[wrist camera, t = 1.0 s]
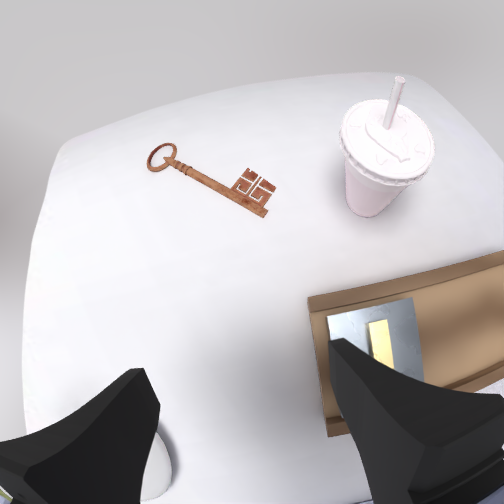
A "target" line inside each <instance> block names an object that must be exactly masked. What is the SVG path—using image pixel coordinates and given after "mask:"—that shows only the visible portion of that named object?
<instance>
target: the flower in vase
mask: <svg viewBox="0 0 504 504" xmlns="http://www.w3.org/2000/svg"><path fill="white" fill-rule="evenodd" d="M171 478H172V467H171V461H170V457H169V454H168V452H167V449H166V447H165V445H164V443H163V441H162V440H161V438H160V436H159V435H158V434H157V432H156V433H155V437H154V440H153V443H152V447H151V450H150V453H149V457H148V460H147V463H146V467H145V471H144V475H143V482H142V489H141V499H140V501H147V500H152V499H155V498H158V497H159V496H161V495H163V494H164V493H165V492H166V490H167V489H168V487H169V485H170V483H171ZM0 495H1V496H3V497H4V498H6V499H7V500H9V501H10V502H11V501H12V499H11V498H10V497H9V496H7V495H6V494H5V493H4V492H3V491H2V490H1V489H0Z"/></svg>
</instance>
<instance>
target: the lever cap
mask: <svg viewBox="0 0 504 504" xmlns="http://www.w3.org/2000/svg"><path fill="white" fill-rule="evenodd" d="M325 319H326V325H327V331H328V338H329V341H330V340H334V339H339V338H343V337H344V338H345V339H347V340H348V341H349V342H351V343H352V344H354V345H355V346H357V347H358V348H359V349H361V350H362V351H364V352H365V353H367V354H368V355H370V356H371V357H373V358H374V359H376V360H378V361H379V362H381V363H383V364H385V365H386V366H388V367H390V368H392V369H394V370H396V371H398V372H400V373H402V374H404V375H406V376H409V377H411V378H414V379H416V380H419V381H422V382H424V372H423V362H422V353H421V346H420V338H419V332H418V325H417V319H416V313H415V308H414V302H413V297H410V298H406V299H402V300H398V301H394V302H390V303H386V304H382V305H377V306H373V307H369V308H364V309H360V310H355V311H350V312H346V313H341V314H336V315H331V316H327V317H325ZM338 410H339V413H340V415H341V418H344V417H343V415H342V413H341V411H340V409H339V406H338Z"/></svg>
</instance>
